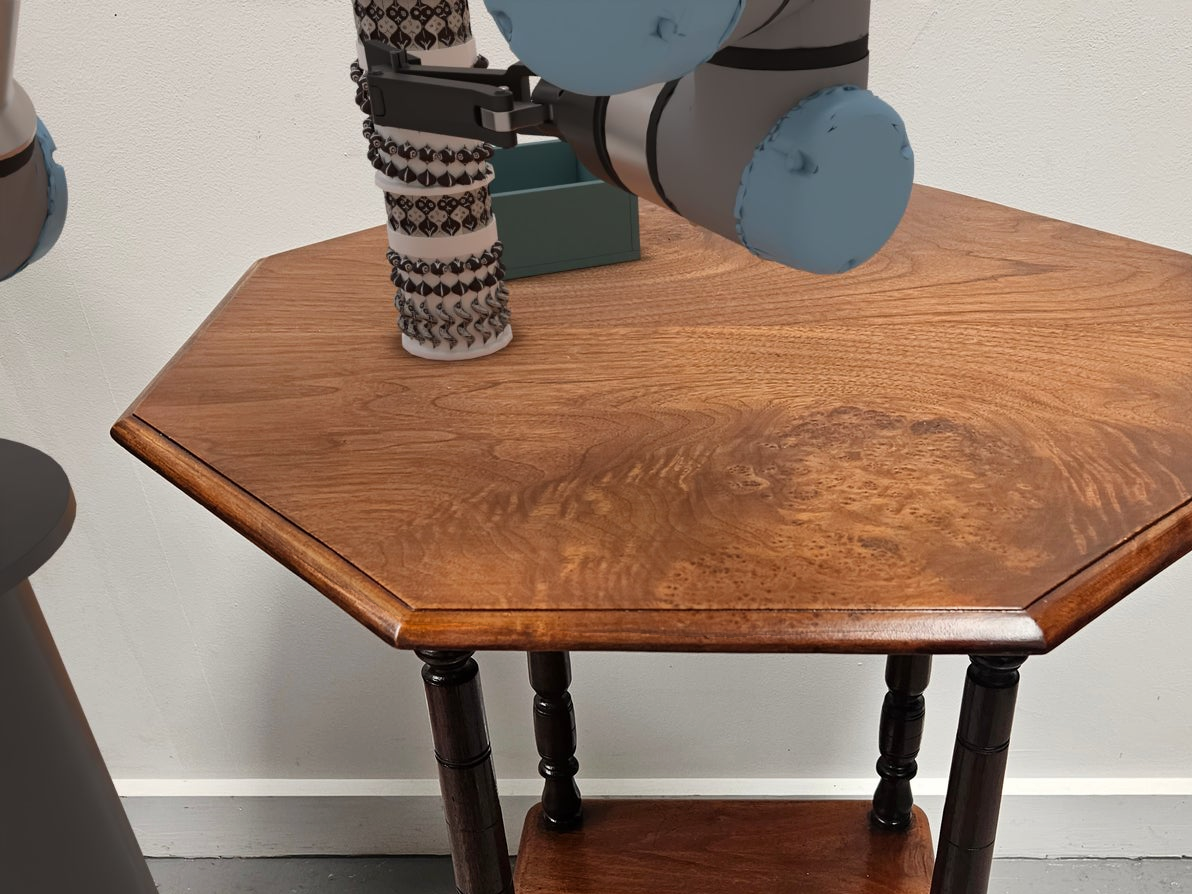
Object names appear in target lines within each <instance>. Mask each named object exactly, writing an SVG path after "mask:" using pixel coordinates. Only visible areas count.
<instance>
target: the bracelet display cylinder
mask: <svg viewBox="0 0 1192 894" xmlns="http://www.w3.org/2000/svg"><path fill="white" fill-rule="evenodd" d="M350 1H351V5H352V9H353V13H352V14H353V19H354V20H353V21H354V25H355V29H356V34H357V39H355V47H356V54H357V58H356V59H355V60H354V61H352V63H351V64H350V65H349V68H350V73H349V77H350V80H351V81H352V82H353V83H355V84H356V85H357V88H356V90H355V94H356V95H355V97H354V102H355V104H356V105H357V106H358V107H359V110H360V111H361V112H362V113H363V114H365V115H368V116H367V117H366V118H365V119H364V120H363V121H362V133H361V134H362V137H364V138H365V139H366V140H368V143H369V144H368V151H367V152H366V158H367V160H369V162H370V163H371V166H372V168H374V169H375V170H376V171H375V172H374V185H375V187H378V188H379V189H380V190H382V192H383V197H384V206H385V212H386V215H387V220H386V221H385V222H386V233H387V238H388V246H387V247H388V248H387V252H386V254H385V257H386V260H388V262H389V264H390V265H391V266H392V269H391V273H390V274H389V279H390V281H391V282H392V285H393V286H394V287H396V288H398V289H397V290H396V291H395V294H394V296H393V301H392V302H393V306H394V308H395V309H396V310H397V311H398V313H399V314H398V316H397V319H396V323H397V327H398V328H399V330H400V331H401V332H402V333H401V344H402V345H401V346H402V348H403V349H404V350H406V351H407V352H408V353H409V354H410V355H414V356H416V357H420V358H423V359H426V360H434V361H436V360H437V361H448V362H449V361H450V362H451V361H461V360H471V359H476V358H480V357H484V356H488V355H491V354H494V353H496V352H498V351H499V350H502V349H503V348H505V347H507V346H508V344H509V343H510V342H511V341H512V340H513V339H514V337H513V330H512V326H511V324H510V323H511V318H510V316H511V315H512V310H511V309H510V308H509V307H508V305H507V304H509V297H508V296H509V295H510V290H509V289H508V288H507V287H506V285H505V282H504V280H501V279H502V278H504V276H505V271H506V266H505V265H504V264H503V263H502V262H501V260H500V259H499V258H500V257H501V256H502V254H503V249H504V246H503V244H502V243H501V242H500V241H499V239H498V236H497V227H496V219H495V215H494V214H493V213H492V207H491V196H490V189H489V182H490V181H492V180H493V179H494V178H495V175H494V170H493V166H492V165H491V164H489V163H487V162H486V161H487V160H489V159H490V158H492V157H493V156H494V148H493V147H494V146H493V145H490V144H488V143H485V142H482V141H479V140H473V139H467V138H460V137H453V136H447V135H440V134H433V133H427V132H420V131H414V130H407V129H400V128H394V127H382V126H380V125H375V124H374V122H373V116H372V110H371V104H370V98H369V93H368V87H367V81H366V75H365V74H366V73H367V72H368V68H367V62H366V56H365V50H364V44H363V41H367V40H378V41H380V42H383V43H385V44H387V45H390V46H392V47H395V48H397V49H406V50H407V53H409V54H411V55H414V56H416V57H418V58H421V64H422V65H428V66H447V67H466V68H485V69H489V66H490V61H489V59H488V58H486V57H485V56H484V55H482V54H480V53H477V51H478V50H477V42H476V37H475V34H473V33H472V25H471V13H470V7H469V0H350Z"/></svg>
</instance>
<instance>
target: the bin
mask: <svg viewBox="0 0 1192 894" xmlns="http://www.w3.org/2000/svg"><path fill="white" fill-rule="evenodd" d="M492 147H493V148H494V156H493V157H492V158H490V159H489V160H487V161H486V162H487V163H489V164H491V165H492V166H493V170H494V175H495V178H494V179H493V180H492V181H490V182H489V189H490V196H491V207H492V213H493V214H494V215H495V219H496V227H497V236H498V239H499V241H500V242H501V243H502V244H503V246H504V249H503V254H502V256H501V257H500V258H499V259H500V260H501V262H502V263H503V264H504V265H505V266H506V271H505V276H504V278H502V279H501V281H506V280H507V281H508V280H514V279H519V278H526V277H532V276H539V275H545V274H552V273H559V272H565V271H571V270H577V269H584V268H590V267H599V266H606V265H611V264H618V263H624V262H630V261H638V260H642V252H641V251H642V250H641V234H640V233H641V232H640V211H639V210H640V209H639V197H638V196H635V195H632V194H630V193H627V192H625V191H623V190H621V189H619V188H617V187H615V186H612V185H610V184H608V183H606V182H604V181H602V180H600V179H598V178H597V177H595V176H594V175H593V174H591V173H590V172H589V171H588V170H587V169H586V168H585V167H584V166H583V165H582V163H581V162H580V161H579V159H578V158H577V156H576V155H575V153H574V151H573V150H572V148H571V146H570V145H569V143H565V142H562V141H561V140H560V139H558V138H556V139H548V140H540V141H531V142H530V141H529V142H523V143H522V142H521V143H518V145H516V146H515V147H511V148H510V149H502V147H496V146H492Z"/></svg>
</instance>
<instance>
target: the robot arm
mask: <svg viewBox="0 0 1192 894" xmlns="http://www.w3.org/2000/svg"><path fill="white" fill-rule="evenodd" d="M871 1H872V0H482V2H483V4H484V6H485V8H486V12H487V13H488V14H489V15H490V16H491V17H492V19H493V21H494V23H495V25H496V26H497V29H498V31H499V32H500V34H501V36H502V37H503V38H504V40H505V41H506V43H507V44H508V46H509V50H510V52H511V53H513V55H514V56H515V57H516V58H517V59H518V61H516V62H514V63H513V64H511V65H509V66H508V67H507V69H502V68H501V69H500V68H487V69H485V68H466V67H447V66H428V65H422V64H421V58H418V57H416V56H414V55H411V54H409V53H407V50H406V49H397V48H395V47H392V46H390V45H387V44H385V43H383V42H380V41H378V40H367V41H363V44H364V50H365V56H366V62H367V68H368V72H367V73H366V74H365V73H364V74H365V75H366V81H367V87H368V93H369V100H370V104H371V110H372V116H373V122H374V124H375V125H380V126H382V127H394V128H400V129H407V130H414V131H420V132H427V133H433V134H440V135H447V136H453V137H460V138H467V139H473V140H479V141H482V142H483V143H484V142H485V143H488V144H490V145H491V146H492V147H502V149H510V148H511V147H515V146H516V145H518V144H519V142H518V141H519V140H518V135H520V136H535V137H548V138H549V137H551V138H556V139H560V140H561V141H562V142H565V143H569V145H570V146H571V148H572V150H573V151H574V153H575V155H576V156H577V158H578V159H579V161H580V162H581V163H582V165H583V166H584V167H585V168H586V169H587V170H588V171H589V172H590V173H591V174H593V175H594V176H595V177H597V178H598V179H600V180H602V181H604V182H606V183H608V184H610V185H612V186H615V187H617V188H619V189H621V190H623V191H625V192H627V193H630V194H632V195H635V196H638V198H640V199H643V200H645V201H647V202H649V203H652V204H654V205H656V206H658V207H661V208H663V209H665V210H666V211H669V212H671V213H674V214H676V215H678V216H679V217H681V218H684V219H686V220H687V221H688V223H689V225H691V226H692V227H694V228H697V227H701V228H703V229H706V230H707V231H710V232H712V233H714V234H716V235H718V236H720V237H722V238H724V239H726V240H728V241H731V242H732V243H734V244H736V245H739V246H741V247H743V248H745V249H746V250H747V251H748V252H749V254H752V255H753V256H756V257H757V258H759V259H761V260H763V261H769V262H772V263H773V262H774V263H777V264H780V265H783V266H785V267H787V268H791V269H793V270H797V271H802V272H806V273H810V274H813V275H818V276H819V275H821V276H831V275H843V274H844V273H847V272H849V271H852V270H854V269H857V268H858V267H860V266H862V265H863V264H865V263H867V262H868V261H870V259H872V258H873V257H874V256H875V255H876V254H878V253H879V252H880V251H881V250H882V248H884V247H885V245H886V244H888V242H889V240H890V239H891V237H893V236H894V234H895V232H896V230H897V228H898V227H899V225H900V224H901V221H902V219H903V217H904V216H905V213H906V210H907V207H908V205H909V202H910V199H911V195H912V190H913V186H914V180H915V178H914V177H915V153H914V150H913V147H912V146H911V143H910V140H909V136H908V133H907V131H906V130H907V128H906V126H905V121H904V120H903V118H902V117H901V116H900V115H901V114H900V113H898V112H897V110H896V109H895V108H893V107H892V105H891V104H889V103H888V102H886V101H884V100H883V99H882V98H880V97H879V95H874V93H873V91H872V90H871V89H868V86H869V72H870V50H869V37H870V18H871V17H870V16H871ZM21 2H22V0H0V283H2V282H5V281H7V280H9V279H11V278H13V277H14V276H16V275H17V274H20V273H21V272H22V271H23V270H25V269H26V268H27V267H28V266H30V265H32V264H34V263H36V262H38V261H39V260H41V259H42V258H43V257H45V256H46V255H47V254H48V253H50V251H51V250H52V249H53V248H54V246H55V245H56V244H57V242H58V240H59V238H60V237H61V236H62V235H61V234H62V233H63V230H64V228H65V224H66V220H67V216H68V208H69V190H68V181H67V176H66V171H65V168H64V166H63V165H61V164H59V163H56V162H55V160H54V158H53V153H54V152H55V151H57V150H58V148H57V146H56V144H55V141H54V139H53V137H52V135H51V133H50V132H49V130H48V128H47V126H46V125H45V123H44V122H43V120H42V119H41V118H40V117H39V115H38V114H37V111H36V107H35V105H34V103H33V101H32V100H31V97H30V96H29V94H28V93H27V91H26V90H25V89H24V87H23V86H22V85H21V84H20V83H19V82H18V81H17V80H16V79H15V78H14V70H15V69H14V68H15V67H14V66H15V58H16V49H17V40H18V33H19V32H18V30H19V21H20V11H21ZM530 77H537V78H540V79H539V80H538V82H537V83H536V85H535V86H534V87H533V90H532V91H531V84H530V83H531V82H530Z"/></svg>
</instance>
